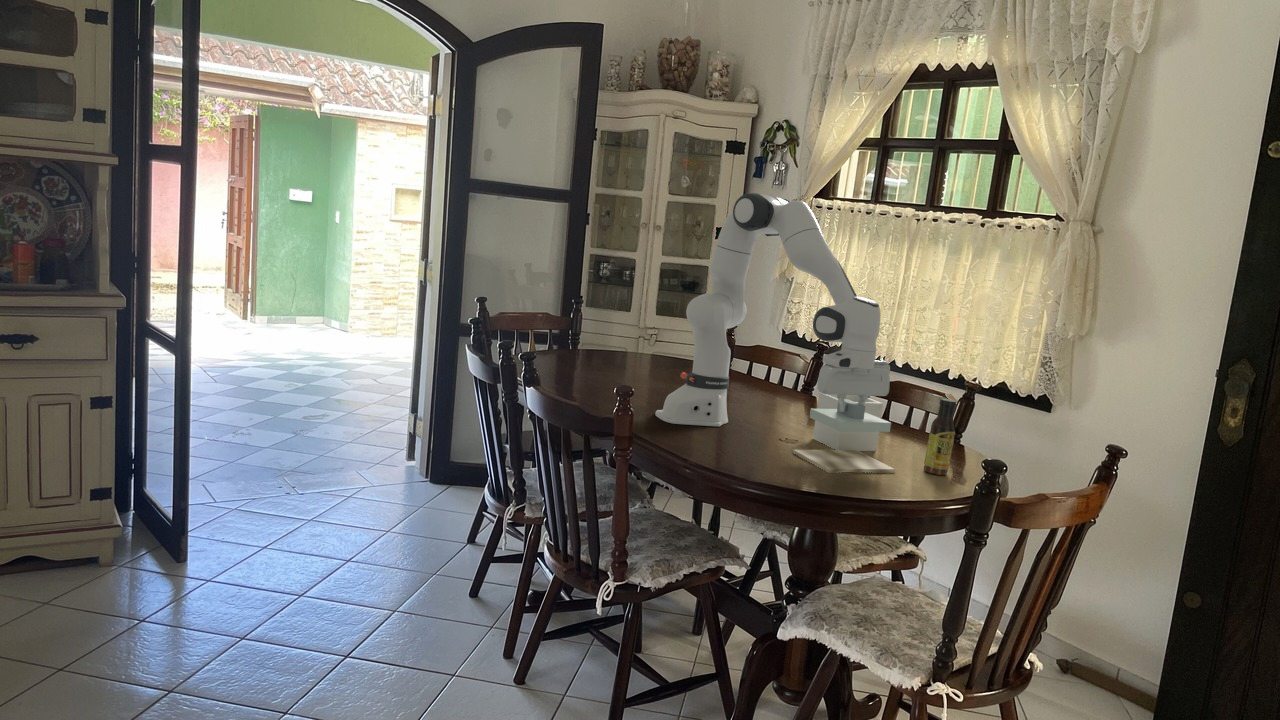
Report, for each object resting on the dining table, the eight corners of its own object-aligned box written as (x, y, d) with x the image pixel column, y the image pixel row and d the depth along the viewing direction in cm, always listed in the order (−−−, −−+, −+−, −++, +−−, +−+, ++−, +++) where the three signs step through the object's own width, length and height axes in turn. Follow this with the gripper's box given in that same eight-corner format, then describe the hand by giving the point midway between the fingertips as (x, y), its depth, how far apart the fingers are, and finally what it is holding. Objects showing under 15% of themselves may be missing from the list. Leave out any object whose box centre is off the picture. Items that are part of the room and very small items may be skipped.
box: (836, 450, 238) (843, 402, 236) (812, 438, 250) (819, 392, 248) (875, 451, 243) (883, 403, 241) (850, 439, 255) (857, 393, 253)
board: (828, 473, 214) (828, 469, 214) (793, 453, 231) (793, 449, 231) (894, 472, 221) (895, 469, 221) (855, 453, 238) (856, 450, 238)
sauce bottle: (934, 476, 221) (946, 402, 218) (917, 469, 227) (929, 397, 224) (953, 476, 224) (965, 402, 221) (936, 468, 230) (948, 397, 226)
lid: (840, 431, 215) (843, 408, 214) (809, 417, 229) (812, 395, 228) (889, 432, 220) (893, 409, 219) (856, 418, 234) (859, 397, 233)
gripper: (883, 359, 228) (876, 409, 230) (817, 356, 221) (811, 407, 223) (898, 363, 222) (890, 414, 224) (830, 360, 215) (823, 413, 217)
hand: (850, 411), depth 224 cm, fingers closed on lid, 3 cm apart
